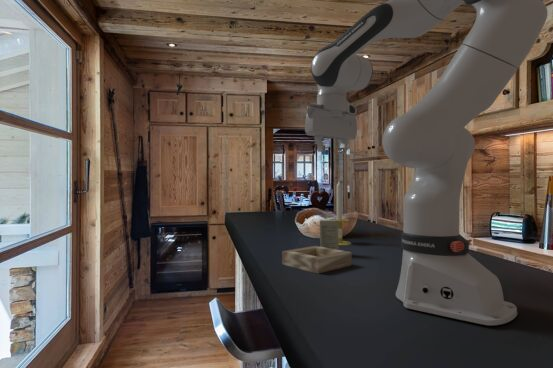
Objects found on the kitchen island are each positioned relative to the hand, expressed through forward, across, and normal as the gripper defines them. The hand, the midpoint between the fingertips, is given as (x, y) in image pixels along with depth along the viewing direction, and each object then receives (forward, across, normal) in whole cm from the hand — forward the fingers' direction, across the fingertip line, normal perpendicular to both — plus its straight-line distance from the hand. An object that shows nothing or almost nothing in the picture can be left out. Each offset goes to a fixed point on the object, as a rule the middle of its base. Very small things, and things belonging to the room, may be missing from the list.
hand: (332, 152), depth 107 cm
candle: (+34, +32, +24) cm, 53 cm away
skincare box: (+34, +12, +12) cm, 38 cm away
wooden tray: (+34, -3, +4) cm, 35 cm away
